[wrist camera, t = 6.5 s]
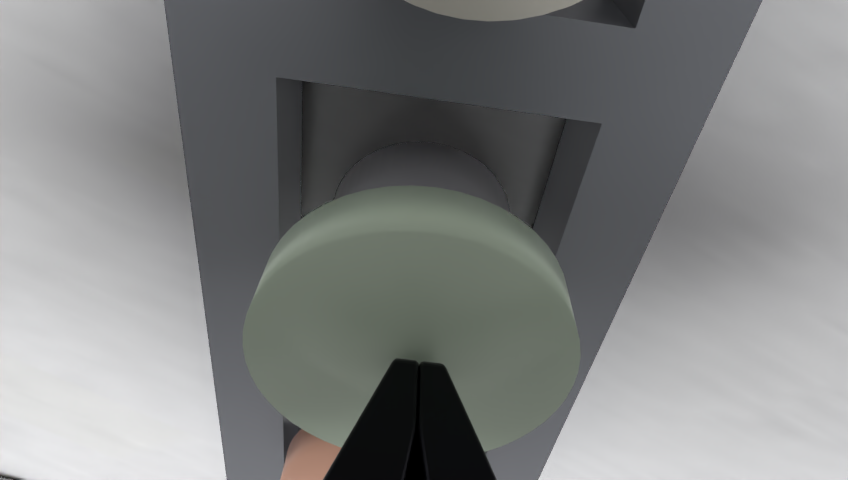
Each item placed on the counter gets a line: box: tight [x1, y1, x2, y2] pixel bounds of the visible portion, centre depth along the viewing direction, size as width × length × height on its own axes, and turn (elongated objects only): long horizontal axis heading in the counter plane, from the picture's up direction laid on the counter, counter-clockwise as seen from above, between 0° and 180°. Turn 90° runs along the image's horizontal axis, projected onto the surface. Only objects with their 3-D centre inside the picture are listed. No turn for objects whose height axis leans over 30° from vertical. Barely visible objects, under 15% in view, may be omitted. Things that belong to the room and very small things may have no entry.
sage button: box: [243, 142, 581, 452], centre depth 11 cm, size 6×6×4 cm
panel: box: [164, 0, 762, 480], centre depth 14 cm, size 10×26×2 cm, turn 172°
